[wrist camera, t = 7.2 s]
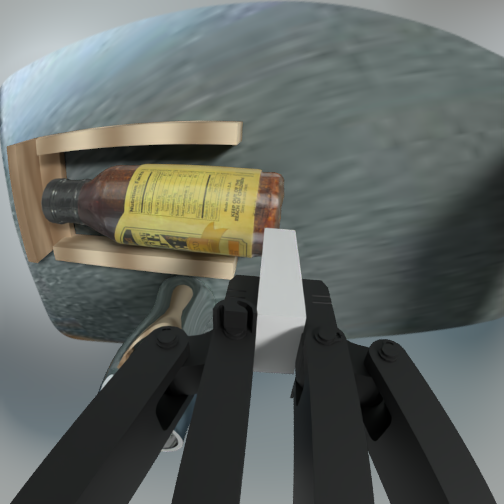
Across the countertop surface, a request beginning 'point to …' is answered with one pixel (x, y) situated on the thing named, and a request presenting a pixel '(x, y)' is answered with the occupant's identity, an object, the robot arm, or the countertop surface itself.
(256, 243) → the sauce bottle
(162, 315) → the beer glass
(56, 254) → the bracket
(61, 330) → the countertop surface
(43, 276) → the countertop surface
